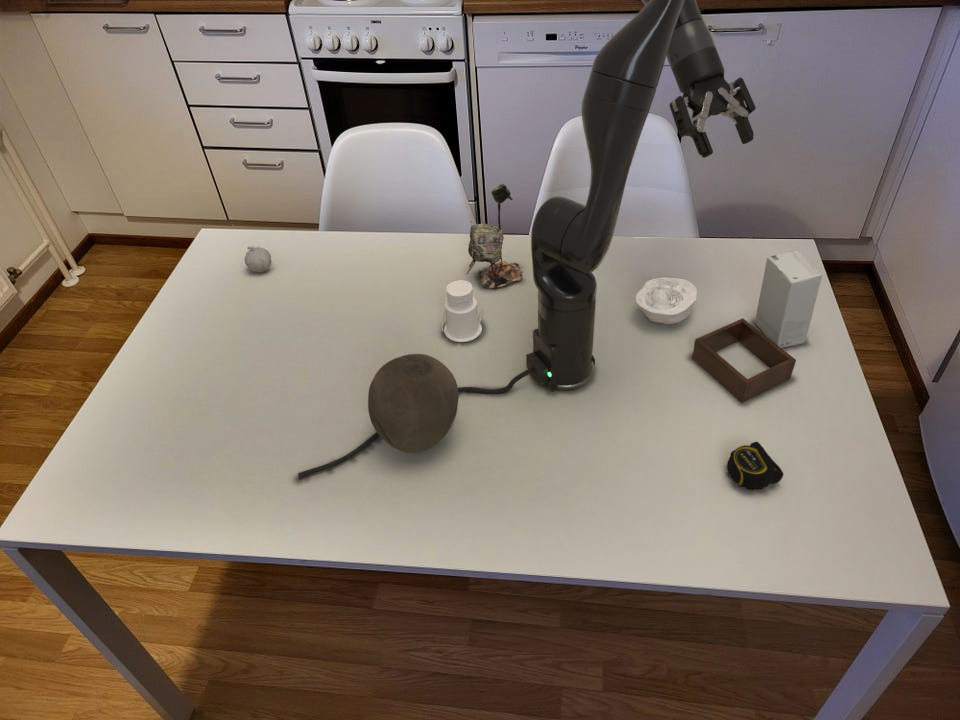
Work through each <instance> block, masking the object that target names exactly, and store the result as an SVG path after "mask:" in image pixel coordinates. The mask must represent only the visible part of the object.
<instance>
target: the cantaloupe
mask: <svg viewBox="0 0 960 720" xmlns="http://www.w3.org/2000/svg"><path fill="white" fill-rule="evenodd" d="M458 388H459V386H458V383H457V380H456V378H455V376H454V374H453V373H452V371H451V370H450V368H448V367H447V366H446V365H445V364H444V363H443V362H442V361H440V360H439V359H437V358H435V357H433V356H431V355H428V354H424V353H411V354H410V353H409V354H405V355H401V356H399V357H395V358H393V359H391V360H389V361H387V362H386V363H385V364H383V365H382V366H381V367H380V368H379V369H378V370H377V371H376V372H375V375H374V376H373V378H372V380H371V381H370V385H369V388H368V395H367V398H368V399H367V410H368V416H369V420H370V422H371V425H372V426H373V429H374V430H375V433H376V432H377V433H378V434H379V437H380V438H381V439H382V440H383V441H384V442H385V443H386V444H388V445H389V446H390V447H391V448H393V449H395V450H398V451H401V452H404V453H407V454H415V453H421V452H424V451H427V450H429V449H431V448H433V447H435V446H436V445H437V444H438V443H440V442H441V441H442V440H443V439H444V438H445V437H446V435H447V434H448V432H449V431H450V429H451V428H452V426H453V424H454V421H455V418H456V416H457V412H458V406H459V393H458Z"/></svg>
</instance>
